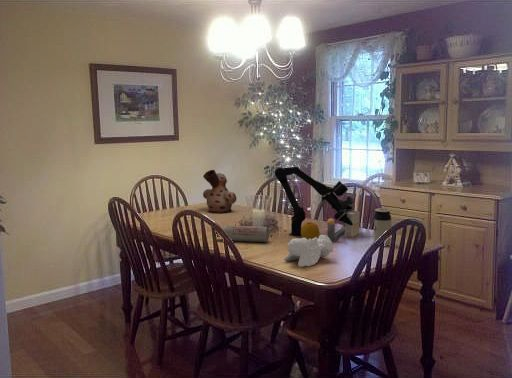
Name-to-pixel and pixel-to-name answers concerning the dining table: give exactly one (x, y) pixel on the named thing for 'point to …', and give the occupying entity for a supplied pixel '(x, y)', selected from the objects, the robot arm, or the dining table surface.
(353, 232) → the supplement box
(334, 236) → the cord guide
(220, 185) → the vessel
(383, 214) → the travel mug
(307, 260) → the cherub figurine
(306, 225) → the apple
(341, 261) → the dining table surface
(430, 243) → the dining table surface
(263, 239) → the thermos bottle
